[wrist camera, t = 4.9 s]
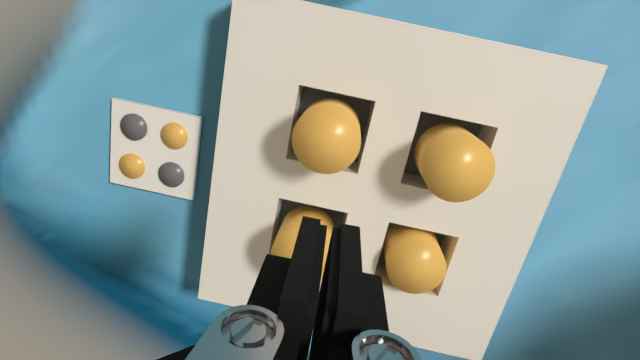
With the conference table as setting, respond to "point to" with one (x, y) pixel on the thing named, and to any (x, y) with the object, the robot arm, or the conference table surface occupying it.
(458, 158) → the button
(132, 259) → the conference table surface
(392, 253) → the button
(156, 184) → the tile
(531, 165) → the console
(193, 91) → the conference table surface
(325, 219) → the button
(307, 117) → the button
